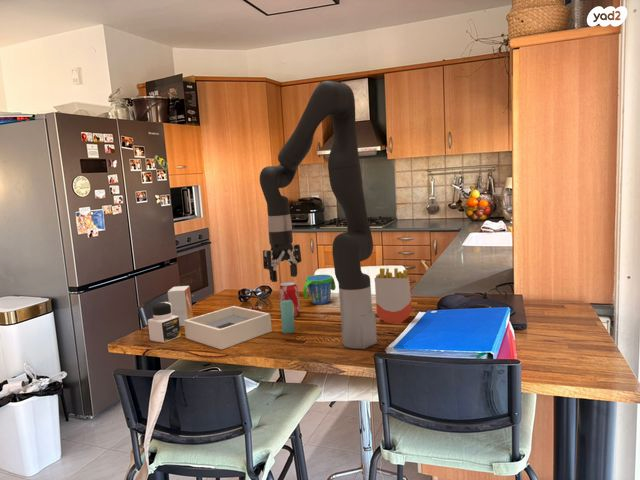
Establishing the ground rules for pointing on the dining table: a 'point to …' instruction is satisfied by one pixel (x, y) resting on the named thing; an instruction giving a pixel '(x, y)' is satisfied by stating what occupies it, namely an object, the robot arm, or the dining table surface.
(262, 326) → the crate
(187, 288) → the small box
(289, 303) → the peg
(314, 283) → the snack cup
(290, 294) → the soda can
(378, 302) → the french fries container
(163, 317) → the medicine bottle
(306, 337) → the dining table surface
